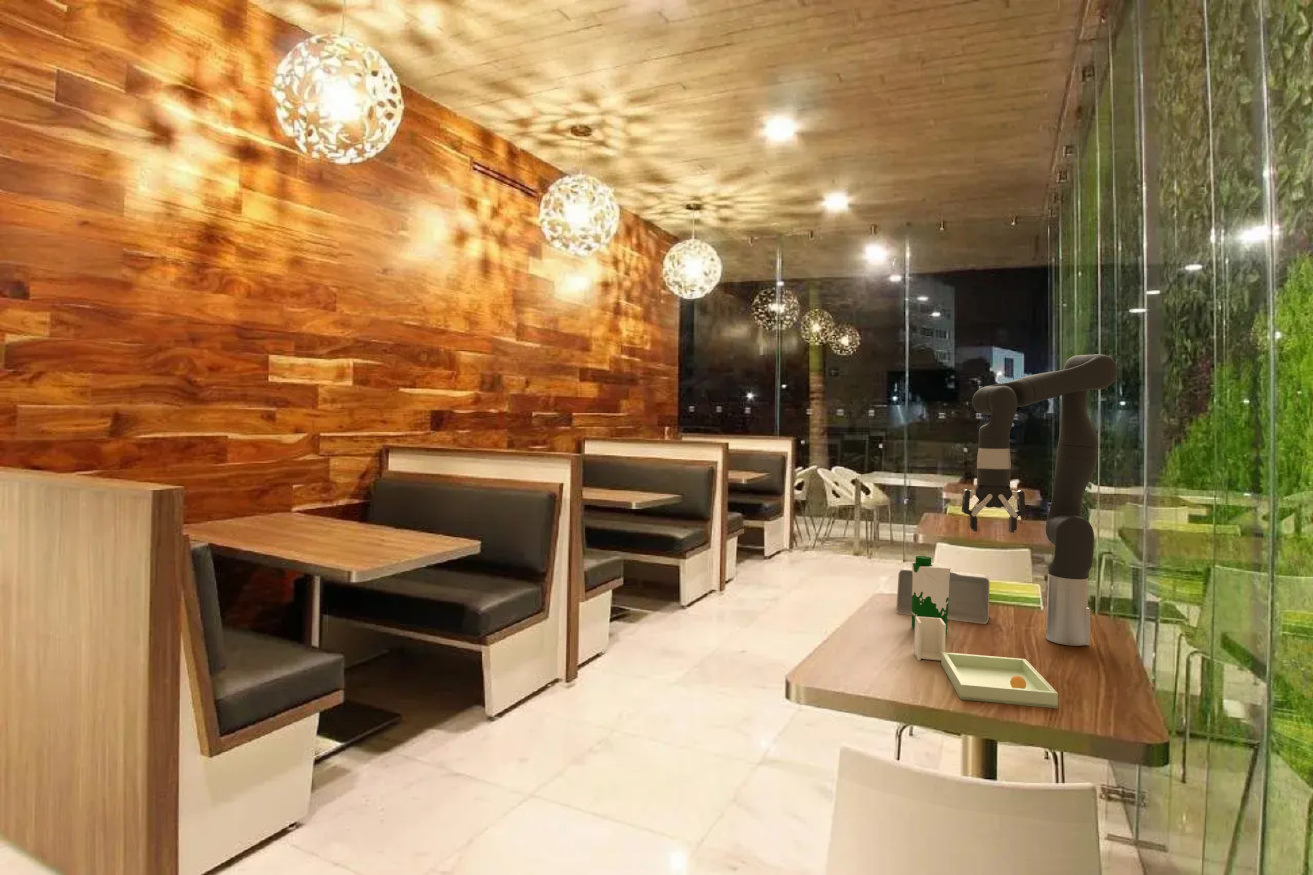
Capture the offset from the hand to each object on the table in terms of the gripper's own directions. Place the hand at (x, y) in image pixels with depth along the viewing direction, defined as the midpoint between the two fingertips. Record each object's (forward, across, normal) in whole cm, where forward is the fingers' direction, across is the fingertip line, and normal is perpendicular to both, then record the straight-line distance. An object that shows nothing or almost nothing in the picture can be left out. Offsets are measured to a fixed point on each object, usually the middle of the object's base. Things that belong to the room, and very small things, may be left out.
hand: (992, 531), depth 182 cm
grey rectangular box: (+30, +5, -37) cm, 48 cm away
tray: (+29, +6, +27) cm, 40 cm away
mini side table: (+29, +17, +11) cm, 35 cm away
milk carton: (+30, +12, -14) cm, 35 cm away
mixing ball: (+27, +2, +31) cm, 41 cm away
